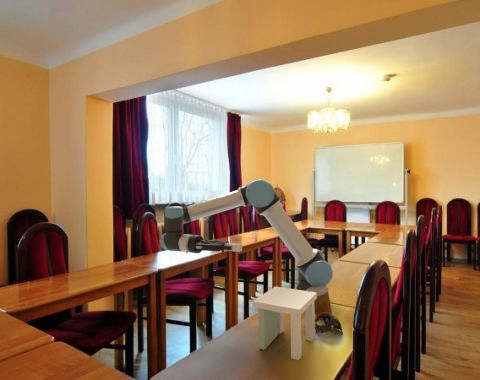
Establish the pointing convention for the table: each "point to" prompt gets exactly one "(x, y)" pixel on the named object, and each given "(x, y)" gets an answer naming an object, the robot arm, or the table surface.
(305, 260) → the robot arm
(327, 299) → the disposable coffee cup
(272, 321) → the panel
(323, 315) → the brown curved piece
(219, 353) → the table surface
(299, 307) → the stool
